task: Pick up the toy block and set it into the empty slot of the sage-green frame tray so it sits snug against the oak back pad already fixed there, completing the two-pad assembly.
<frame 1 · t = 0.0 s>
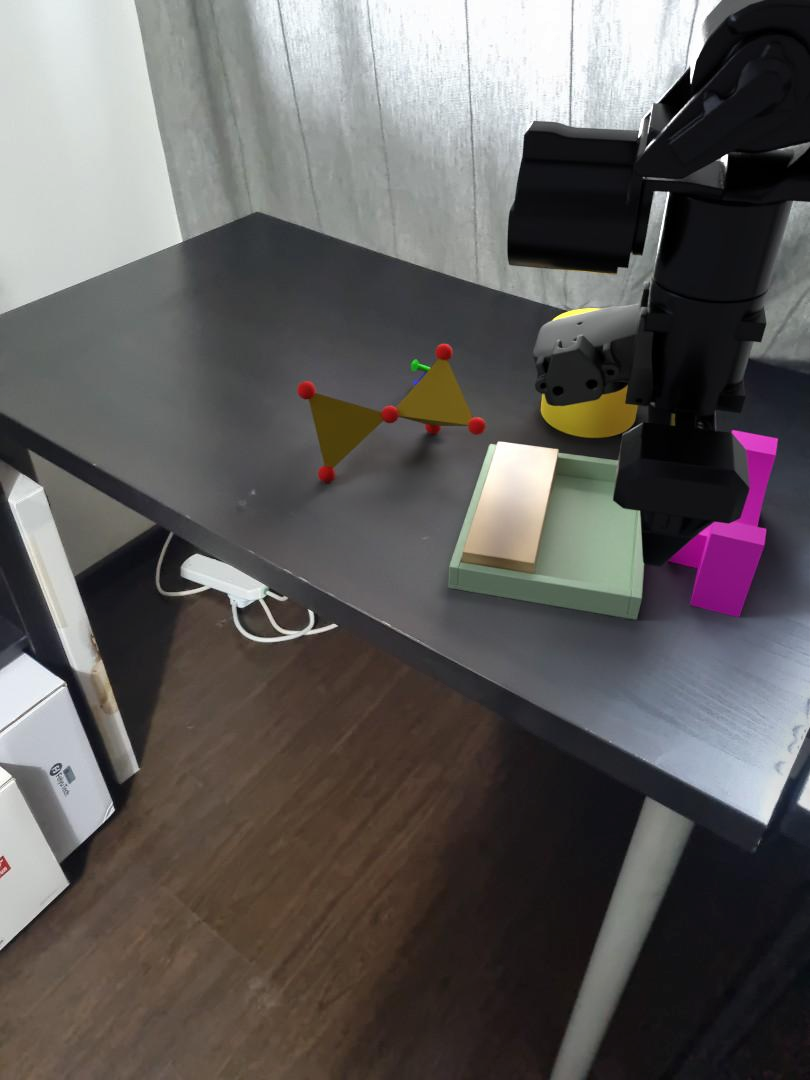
hand: (654, 516, 52), 14 cm above the table, tool pointing down, fingers open, 9 cm apart
yellow hollow cylinder: (587, 413, 88), on the table
back pad: (511, 526, 74), resting on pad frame
molecule model: (382, 439, 85), on the table
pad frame: (554, 533, 73), on the table
toy block: (709, 551, 71), on the table
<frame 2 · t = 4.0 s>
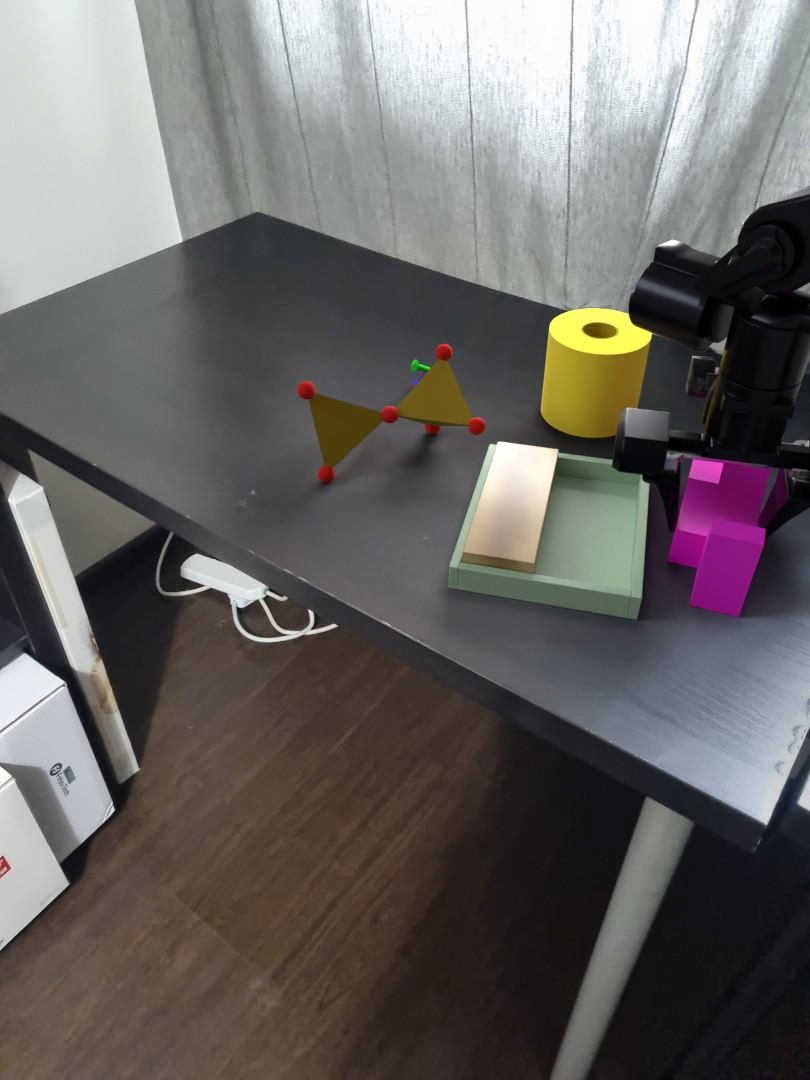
hand: (713, 535, 70), 2 cm above the table, tool pointing down, fingers closed on toy block, 6 cm apart
toy block: (708, 551, 71), on the table, touching gripper
everything else where it was.
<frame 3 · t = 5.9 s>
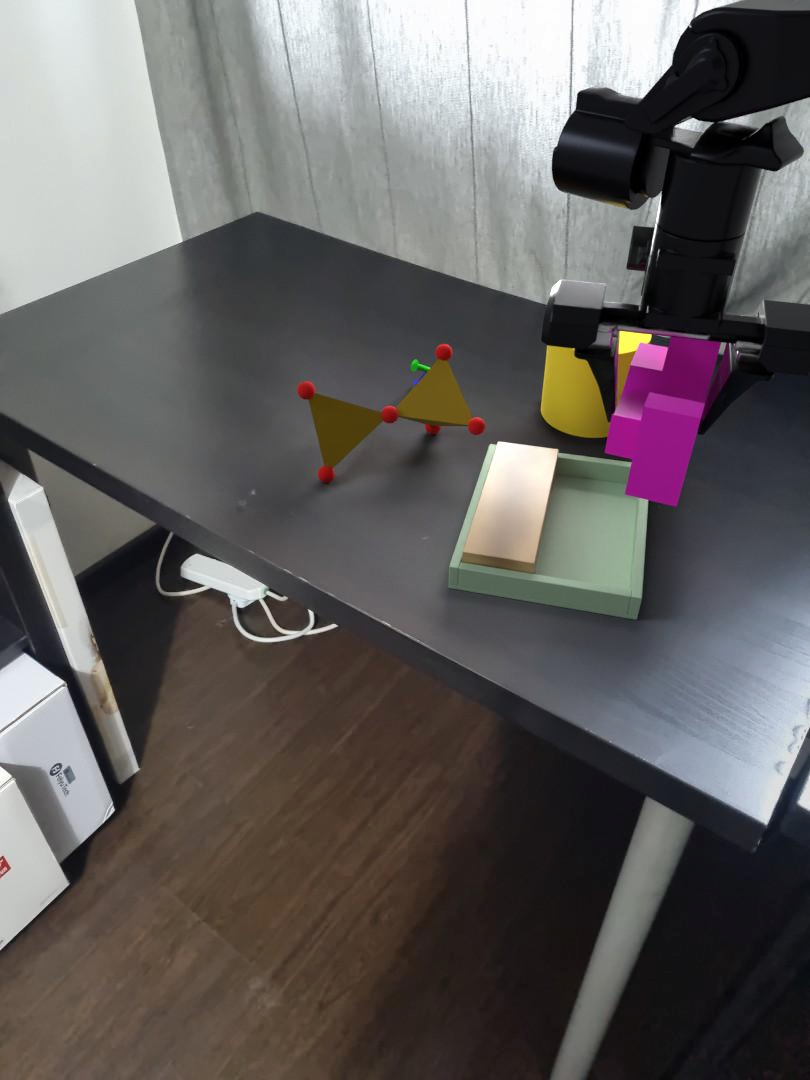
hand: (655, 425, 65), 12 cm above the table, tool pointing down, fingers closed on toy block, 6 cm apart
toy block: (650, 444, 66), point 10 cm above the table, touching gripper
everything else where it was.
when the fingers open (4 cm above the table, at t = 8.3 s): toy block drops 2 cm, resting on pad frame.
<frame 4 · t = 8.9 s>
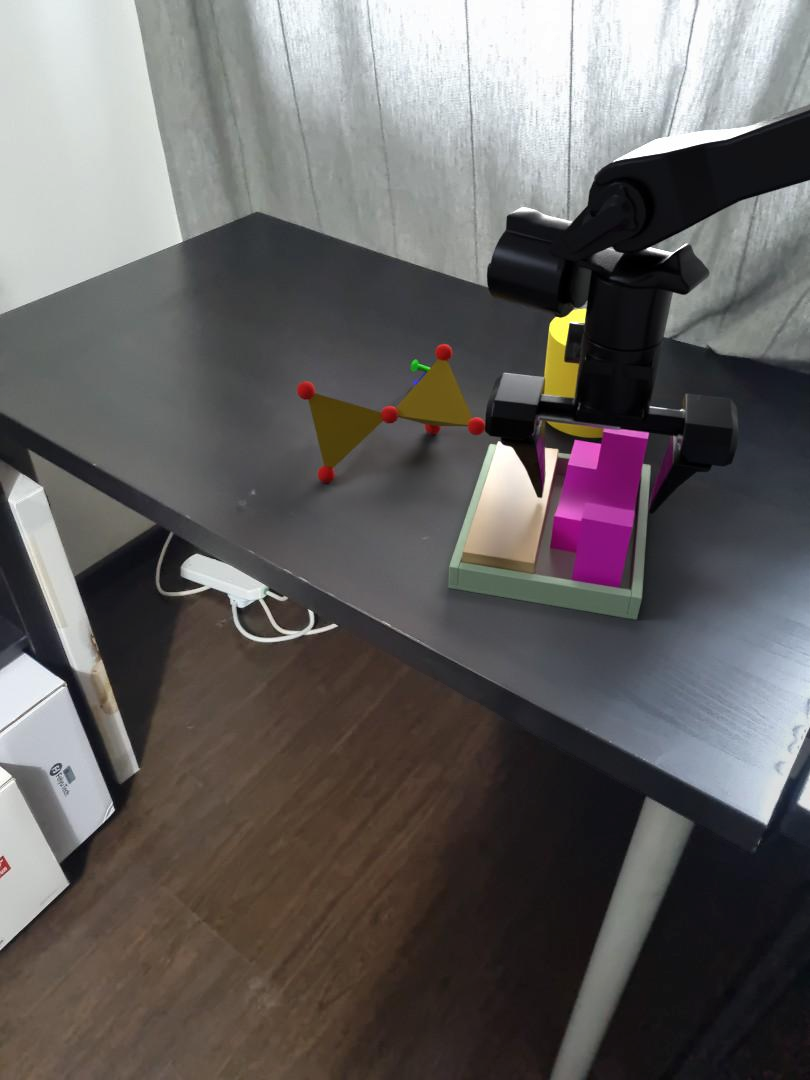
hand: (594, 502, 70), 4 cm above the table, tool pointing down, fingers open, 9 cm apart
toy block: (590, 536, 72), resting on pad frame
everything else where it was.
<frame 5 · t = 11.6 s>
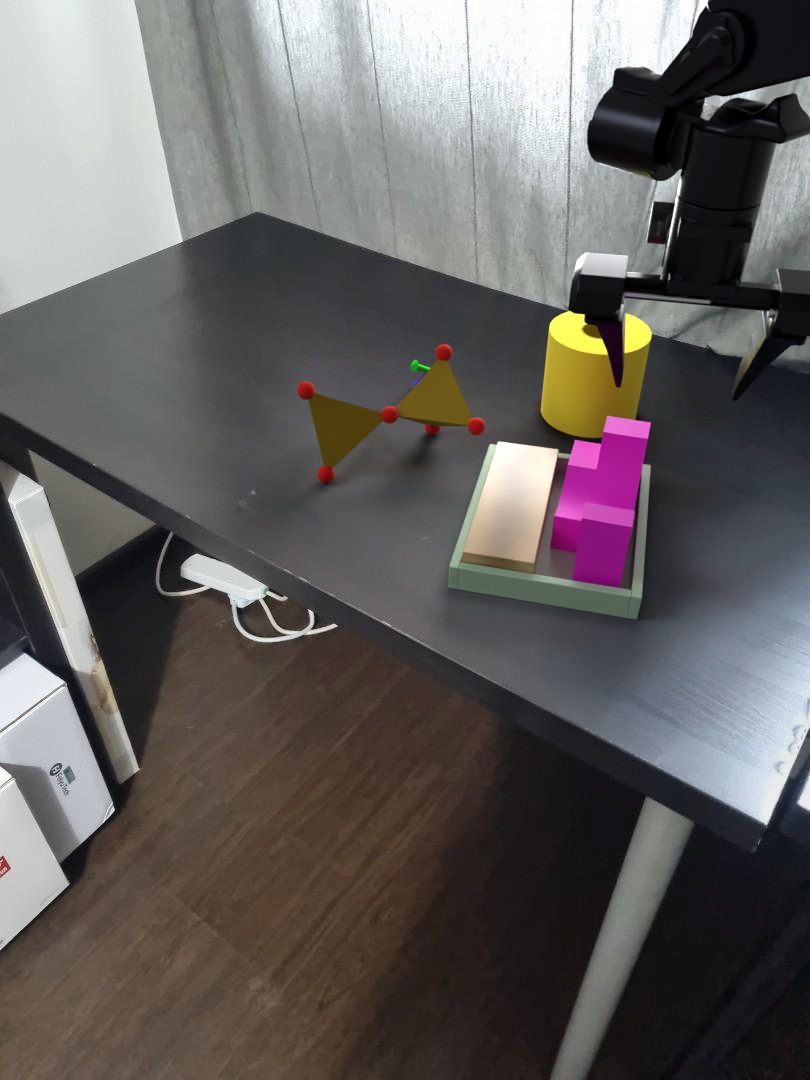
hand: (675, 391, 68), 12 cm above the table, tool pointing down, fingers open, 9 cm apart
nothing on the table moved.
at the end: toy block 0.2 cm from the target spot in the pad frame, point 0.2 cm above the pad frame's base; toy block tilted 0°; the gripper is holding nothing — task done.
